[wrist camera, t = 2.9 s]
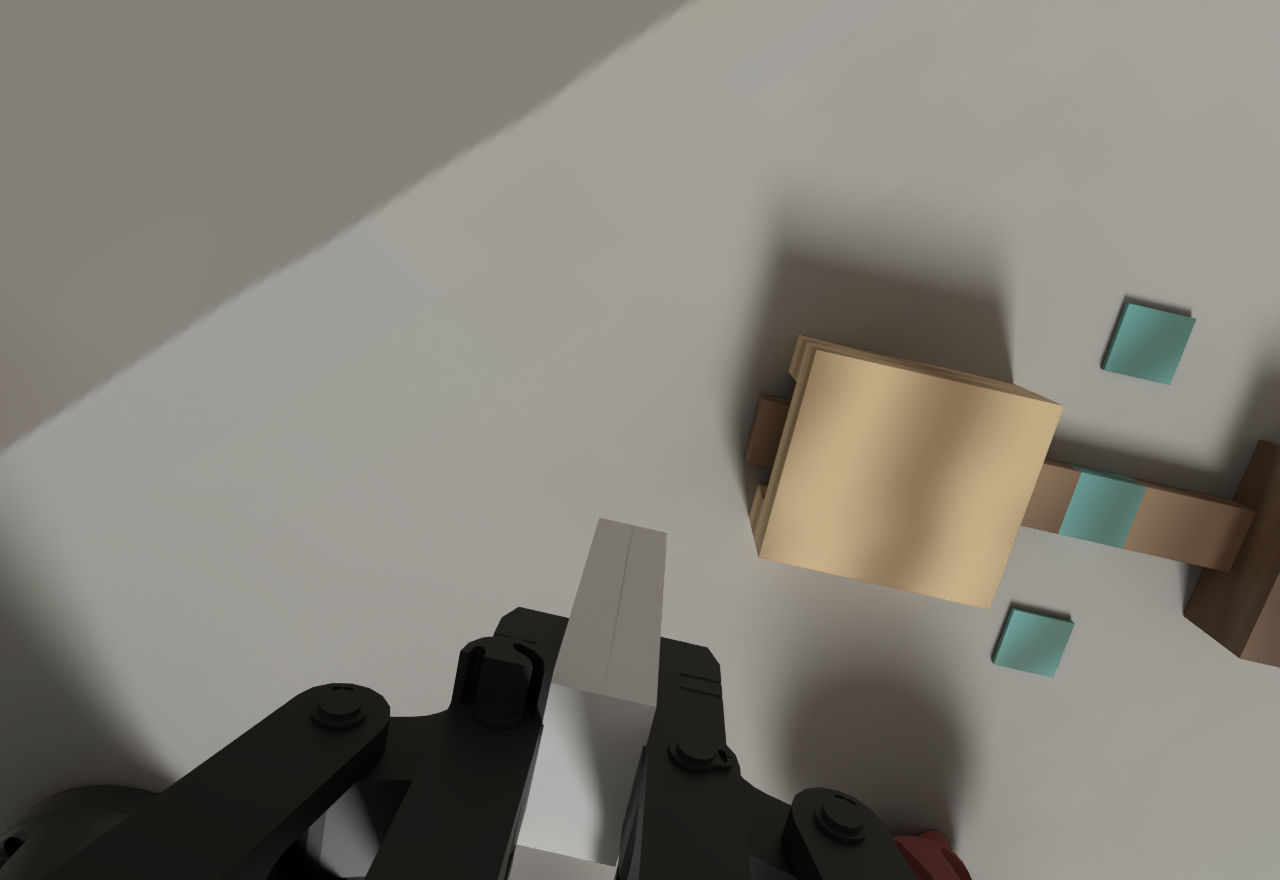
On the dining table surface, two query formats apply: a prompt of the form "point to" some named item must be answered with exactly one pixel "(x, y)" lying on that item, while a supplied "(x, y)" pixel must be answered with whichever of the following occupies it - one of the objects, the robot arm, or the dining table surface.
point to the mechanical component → (932, 857)
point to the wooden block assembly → (1140, 518)
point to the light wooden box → (901, 472)
